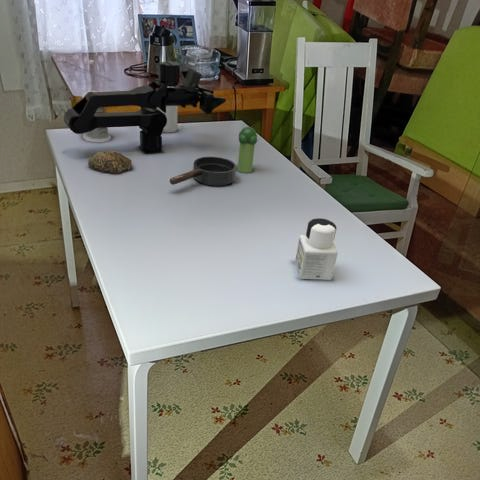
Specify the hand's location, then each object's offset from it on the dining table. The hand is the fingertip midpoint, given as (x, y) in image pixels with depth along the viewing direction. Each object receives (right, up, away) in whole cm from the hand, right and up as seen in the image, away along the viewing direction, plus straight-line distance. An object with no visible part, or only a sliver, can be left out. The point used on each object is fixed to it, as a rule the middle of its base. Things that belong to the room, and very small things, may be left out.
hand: (219, 96), depth 180 cm
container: (+25, -66, -53) cm, 88 cm away
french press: (-44, -13, +3) cm, 46 cm away
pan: (-1, -32, -15) cm, 36 cm away
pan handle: (-9, -36, -25) cm, 44 cm away
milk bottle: (-21, -5, +17) cm, 27 cm away
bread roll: (-33, -29, -15) cm, 47 cm away
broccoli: (+9, -28, -7) cm, 30 cm away
